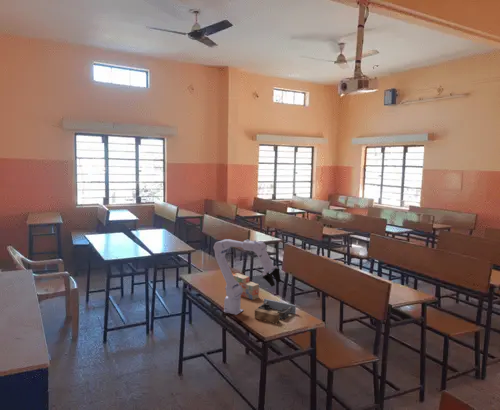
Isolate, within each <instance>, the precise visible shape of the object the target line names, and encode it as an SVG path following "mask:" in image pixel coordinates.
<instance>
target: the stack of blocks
mask: <svg viewBox="0 0 500 410" xmlns="http://www.w3.org/2000/svg"><path fill="white" fill-rule="evenodd" d="M232 274H233V277H234V279H235V280H236V281H237V282H239V284H240V286H241V287H242V288H243V292H242V294H241V296H242V297H244V298H246V299H248V300H256V299H259V296H260V295H259V293H260V284H259V283H256V282H253V281H250V276H248V275H244V274H243V273H242V274H241V273H239V272H236V273H232Z"/></svg>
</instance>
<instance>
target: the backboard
mask: <svg viewBox="0 0 500 410" xmlns="http://www.w3.org/2000/svg"><path fill="white" fill-rule="evenodd" d="M264 303H265V304H269V305H270V309H271V308H272V310H276V309H277V310H276V311H280V310H281V311H280V312H282V308H287V309H289V314H294V315H296V311H297V310H296V308H297V306H296V304H295V305H294V304H292V303H287V302H283V301H278V300H273V299H268V298H263V304H264Z"/></svg>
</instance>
